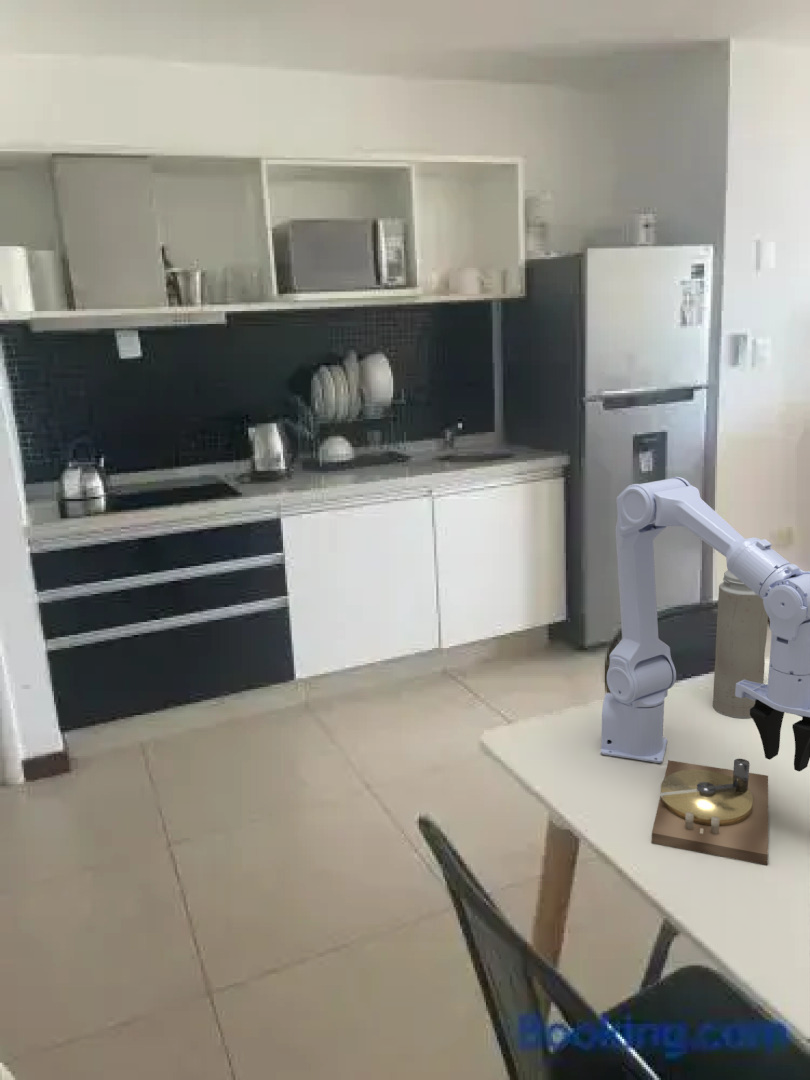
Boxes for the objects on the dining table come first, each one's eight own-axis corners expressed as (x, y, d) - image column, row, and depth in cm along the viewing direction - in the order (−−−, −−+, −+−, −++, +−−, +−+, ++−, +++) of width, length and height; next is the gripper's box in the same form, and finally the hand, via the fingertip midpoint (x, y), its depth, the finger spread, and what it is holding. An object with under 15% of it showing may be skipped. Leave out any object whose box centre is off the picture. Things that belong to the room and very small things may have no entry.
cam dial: (643, 783, 121) (644, 749, 120) (725, 774, 123) (727, 741, 122) (680, 830, 110) (681, 794, 109) (769, 820, 111) (772, 784, 110)
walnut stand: (651, 842, 110) (652, 819, 109) (668, 769, 128) (668, 748, 127) (767, 865, 105) (768, 840, 104) (767, 784, 123) (769, 763, 122)
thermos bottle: (750, 697, 151) (760, 547, 144) (768, 717, 143) (780, 560, 136) (706, 699, 151) (714, 549, 144) (721, 719, 143) (730, 562, 136)
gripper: (866, 674, 104) (856, 773, 107) (757, 643, 115) (751, 733, 119) (838, 691, 100) (829, 792, 103) (728, 656, 111) (723, 749, 114)
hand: (785, 762), depth 111 cm, fingers open, 3 cm apart
